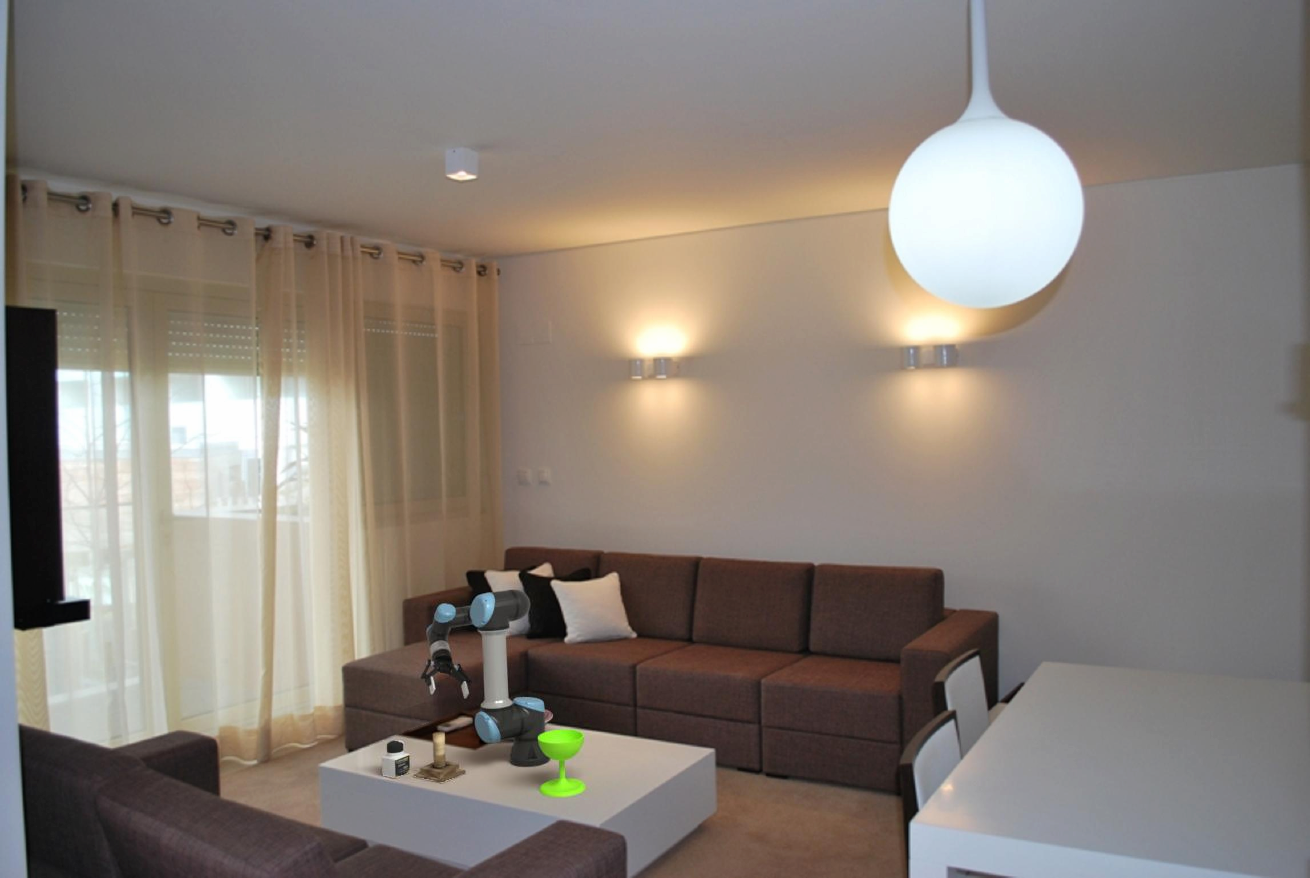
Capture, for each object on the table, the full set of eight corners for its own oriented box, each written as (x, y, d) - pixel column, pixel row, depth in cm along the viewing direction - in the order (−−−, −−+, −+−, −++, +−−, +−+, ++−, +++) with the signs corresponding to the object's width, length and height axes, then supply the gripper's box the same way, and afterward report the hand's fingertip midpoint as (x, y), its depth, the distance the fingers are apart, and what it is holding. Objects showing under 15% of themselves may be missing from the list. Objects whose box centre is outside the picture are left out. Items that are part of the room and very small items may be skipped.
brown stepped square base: (465, 773, 350) (465, 763, 350) (442, 783, 340) (442, 774, 340) (437, 767, 357) (437, 758, 357) (413, 777, 347) (413, 767, 347)
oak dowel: (448, 771, 349) (447, 733, 349) (440, 775, 346) (438, 736, 346) (439, 769, 352) (438, 731, 352) (431, 773, 348) (430, 734, 348)
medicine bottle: (395, 779, 346) (394, 746, 346) (381, 776, 349) (380, 743, 349) (410, 773, 352) (409, 740, 352) (396, 770, 356) (395, 737, 356)
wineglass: (588, 794, 325) (587, 741, 326) (541, 799, 322) (539, 745, 322) (582, 778, 341) (581, 727, 341) (537, 783, 338) (535, 731, 338)
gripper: (466, 666, 387) (476, 705, 370) (407, 657, 374) (414, 697, 358) (473, 652, 385) (484, 690, 368) (414, 643, 372) (422, 682, 355)
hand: (450, 693), depth 363 cm, fingers open, 13 cm apart
